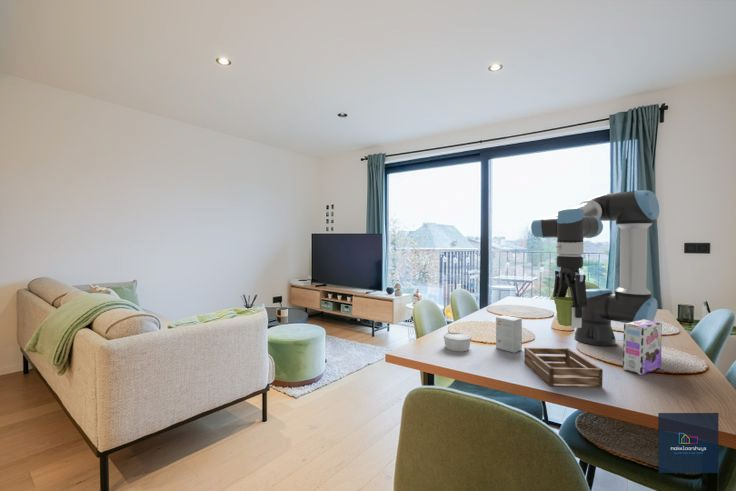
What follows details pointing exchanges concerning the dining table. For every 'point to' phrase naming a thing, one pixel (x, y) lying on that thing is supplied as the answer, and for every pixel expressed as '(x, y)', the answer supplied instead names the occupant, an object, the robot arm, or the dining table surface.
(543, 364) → the crate
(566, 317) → the plant pot
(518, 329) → the small box
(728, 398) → the dining table surface
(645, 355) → the candy box
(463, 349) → the ramekin
